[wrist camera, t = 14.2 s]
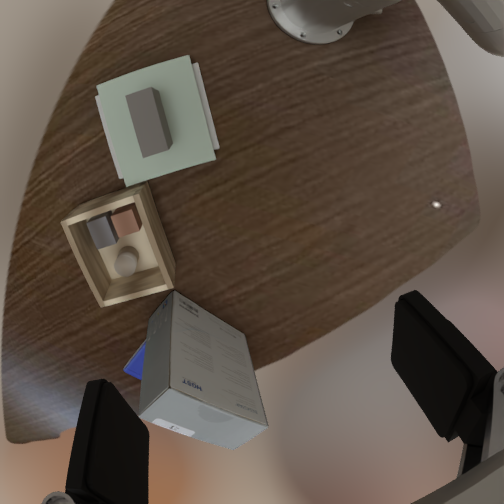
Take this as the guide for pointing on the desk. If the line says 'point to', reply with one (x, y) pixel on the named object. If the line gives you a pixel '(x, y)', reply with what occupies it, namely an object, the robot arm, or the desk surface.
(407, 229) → the desk surface
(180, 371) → the hard drive box
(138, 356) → the hard drive
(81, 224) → the crate
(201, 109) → the lid
